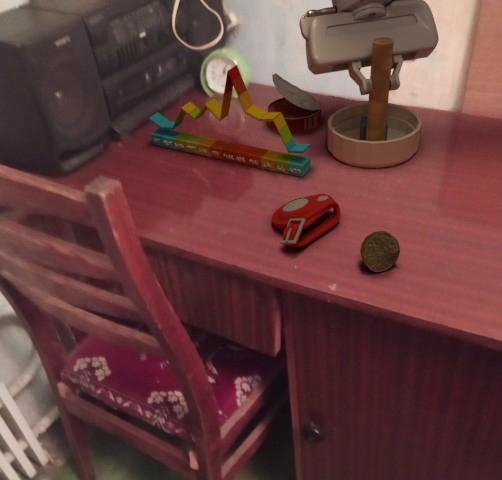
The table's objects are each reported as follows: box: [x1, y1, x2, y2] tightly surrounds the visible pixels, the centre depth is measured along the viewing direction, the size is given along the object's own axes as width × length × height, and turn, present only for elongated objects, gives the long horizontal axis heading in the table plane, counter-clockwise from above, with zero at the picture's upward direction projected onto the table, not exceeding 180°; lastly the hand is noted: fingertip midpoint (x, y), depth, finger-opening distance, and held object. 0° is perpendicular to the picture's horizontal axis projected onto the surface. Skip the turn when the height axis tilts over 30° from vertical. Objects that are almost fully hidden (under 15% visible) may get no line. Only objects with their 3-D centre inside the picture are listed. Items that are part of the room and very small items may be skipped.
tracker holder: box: [271, 193, 341, 248], centre depth 82 cm, size 12×4×10 cm
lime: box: [359, 230, 401, 273], centre depth 75 cm, size 4×5×5 cm
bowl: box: [326, 102, 423, 169], centre depth 98 cm, size 15×15×4 cm
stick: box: [366, 37, 394, 141], centre depth 90 cm, size 3×3×16 cm
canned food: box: [267, 73, 323, 136], centre depth 107 cm, size 11×10×10 cm
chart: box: [148, 64, 311, 178], centre depth 96 cm, size 30×3×15 cm, turn 60°
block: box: [360, 116, 388, 141], centre depth 98 cm, size 4×4×4 cm
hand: (381, 91), depth 89 cm, fingers closed on stick, 3 cm apart
